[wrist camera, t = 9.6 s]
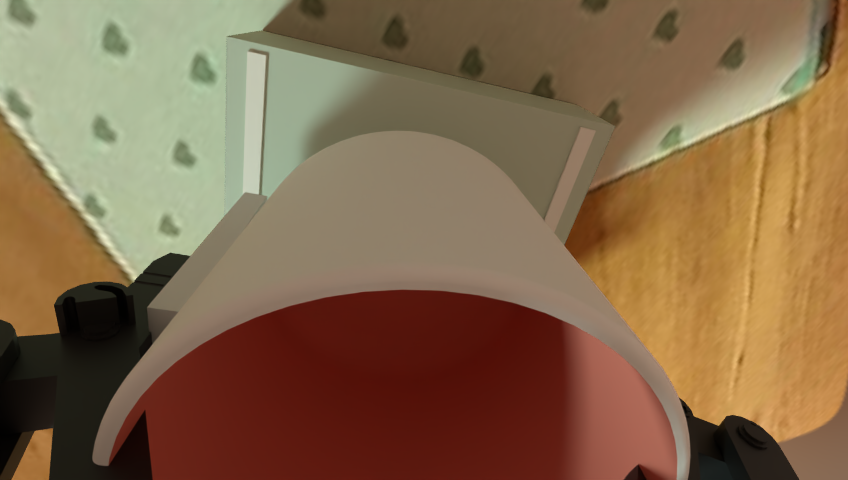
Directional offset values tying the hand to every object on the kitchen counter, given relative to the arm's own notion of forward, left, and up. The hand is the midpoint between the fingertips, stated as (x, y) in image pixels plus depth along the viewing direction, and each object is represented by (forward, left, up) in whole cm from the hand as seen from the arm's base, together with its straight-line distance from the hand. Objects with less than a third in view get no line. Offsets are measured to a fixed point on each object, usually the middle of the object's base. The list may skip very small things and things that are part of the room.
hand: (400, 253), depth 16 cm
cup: (0, 0, 0) cm, 0 cm away
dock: (0, 0, -6) cm, 6 cm away
